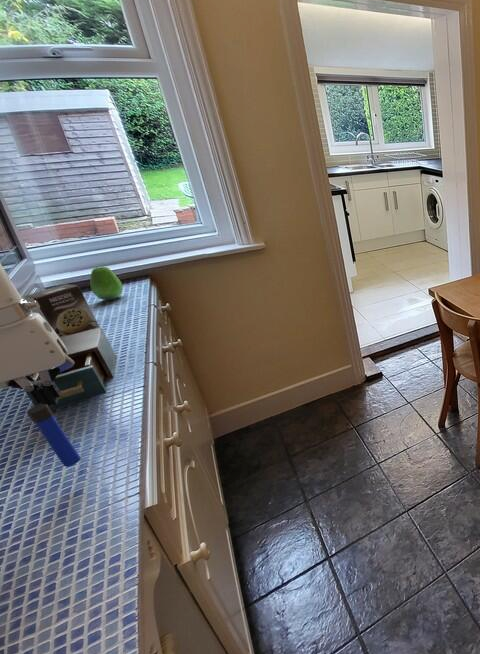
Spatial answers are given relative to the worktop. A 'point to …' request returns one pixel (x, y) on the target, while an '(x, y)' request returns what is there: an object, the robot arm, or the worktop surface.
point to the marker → (54, 434)
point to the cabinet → (92, 348)
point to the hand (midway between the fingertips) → (52, 402)
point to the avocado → (105, 283)
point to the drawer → (77, 381)
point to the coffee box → (64, 309)
